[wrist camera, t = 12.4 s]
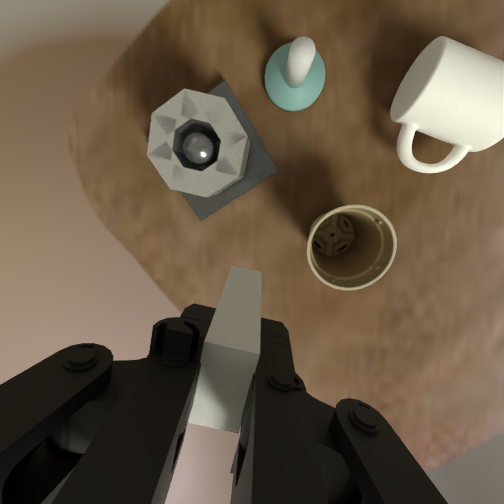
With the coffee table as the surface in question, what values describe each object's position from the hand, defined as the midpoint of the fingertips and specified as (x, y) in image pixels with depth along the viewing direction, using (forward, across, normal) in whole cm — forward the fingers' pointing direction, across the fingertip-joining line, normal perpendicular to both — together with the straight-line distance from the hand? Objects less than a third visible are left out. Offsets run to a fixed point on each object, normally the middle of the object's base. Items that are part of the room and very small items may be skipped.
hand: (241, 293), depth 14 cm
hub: (+24, -7, +7) cm, 26 cm away
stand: (+24, +1, +18) cm, 30 cm away
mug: (+25, +18, +16) cm, 34 cm away
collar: (+20, -7, +7) cm, 23 cm away
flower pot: (+25, +11, +1) cm, 27 cm away
